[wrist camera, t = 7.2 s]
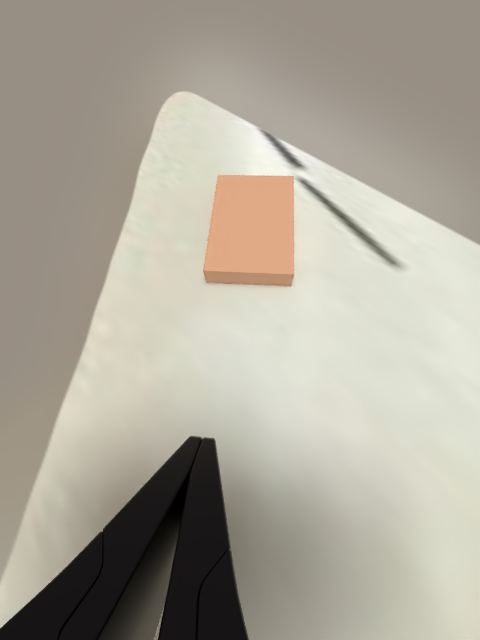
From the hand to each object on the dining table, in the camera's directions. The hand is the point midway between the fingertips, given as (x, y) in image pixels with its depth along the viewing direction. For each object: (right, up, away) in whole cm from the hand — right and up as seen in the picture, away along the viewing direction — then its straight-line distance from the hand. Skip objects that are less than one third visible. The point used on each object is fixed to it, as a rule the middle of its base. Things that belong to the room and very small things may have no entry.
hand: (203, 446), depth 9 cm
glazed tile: (+2, +8, +15) cm, 17 cm away
